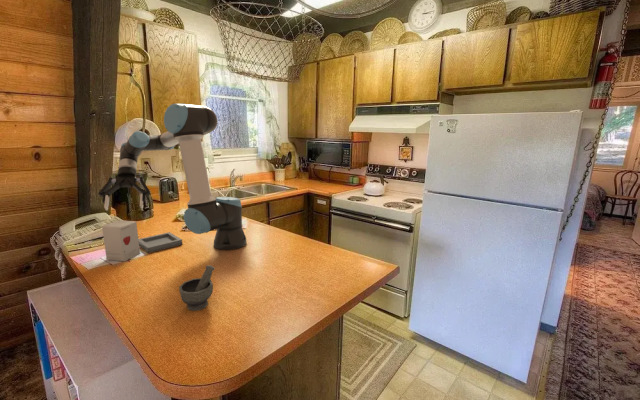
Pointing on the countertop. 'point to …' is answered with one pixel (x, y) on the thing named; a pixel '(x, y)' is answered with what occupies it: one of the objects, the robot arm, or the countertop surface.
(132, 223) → the supplement box
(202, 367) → the countertop surface
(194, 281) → the mortar and pestle
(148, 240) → the charcoal tray
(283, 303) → the countertop surface
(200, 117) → the robot arm
